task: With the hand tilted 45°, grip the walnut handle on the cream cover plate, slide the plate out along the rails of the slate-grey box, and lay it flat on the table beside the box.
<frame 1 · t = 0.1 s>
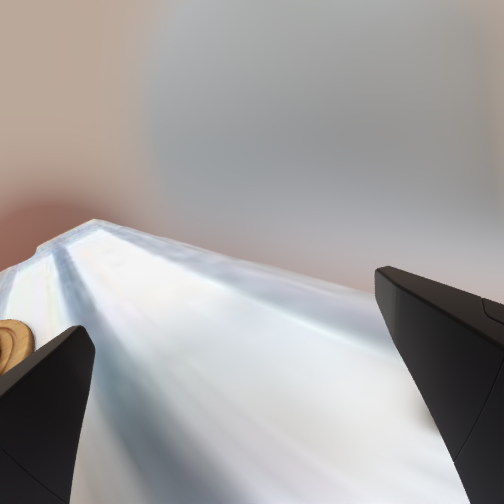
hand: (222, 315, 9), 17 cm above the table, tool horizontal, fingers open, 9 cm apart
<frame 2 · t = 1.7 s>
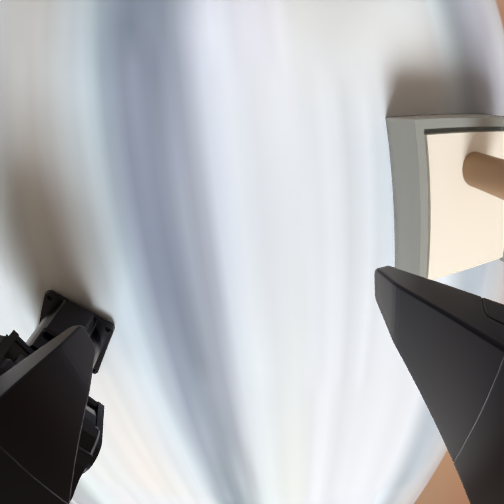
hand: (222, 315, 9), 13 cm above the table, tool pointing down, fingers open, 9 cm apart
box: (446, 189, 21), on the table
cover plate: (465, 200, 19), point 2 cm above the table, touching box
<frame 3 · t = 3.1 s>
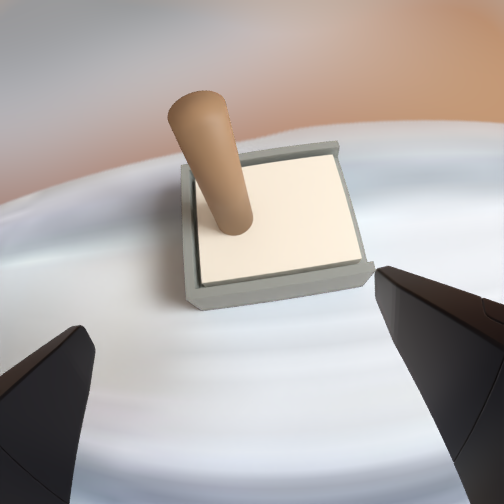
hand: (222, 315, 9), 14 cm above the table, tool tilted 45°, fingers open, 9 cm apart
box: (272, 234, 24), on the table
cover plate: (273, 219, 22), point 2 cm above the table, touching box
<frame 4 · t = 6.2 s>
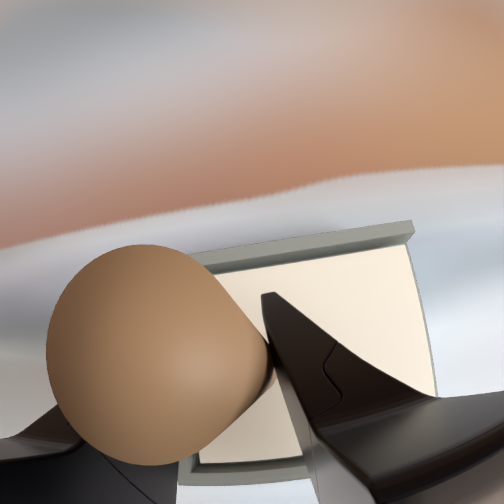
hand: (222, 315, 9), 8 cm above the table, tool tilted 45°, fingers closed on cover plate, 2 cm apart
box: (302, 360, 15), on the table
cover plate: (310, 358, 13), point 2 cm above the table, touching box, gripper
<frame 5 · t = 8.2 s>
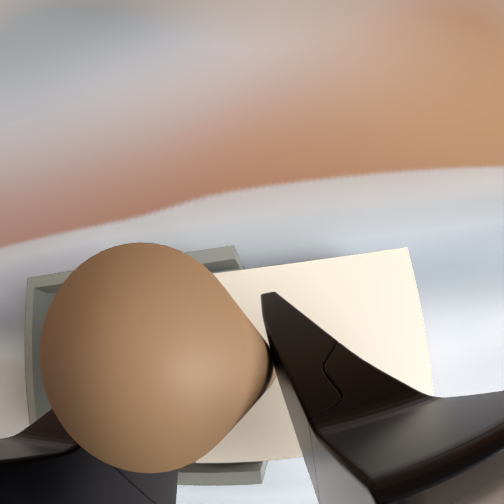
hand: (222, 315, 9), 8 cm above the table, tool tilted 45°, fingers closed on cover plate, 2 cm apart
box: (149, 374, 16), on the table
cover plate: (309, 359, 13), point 3 cm above the table, touching gripper
when the fingers open (6 cm above the table, at t = 10.2 s): cover plate drops 2 cm, on the table.
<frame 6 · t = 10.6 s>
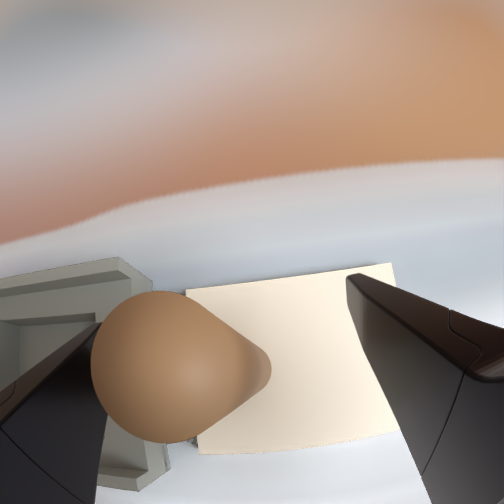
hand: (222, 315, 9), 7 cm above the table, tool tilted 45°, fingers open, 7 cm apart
box: (68, 376, 15), on the table
cover plate: (300, 363, 15), on the table
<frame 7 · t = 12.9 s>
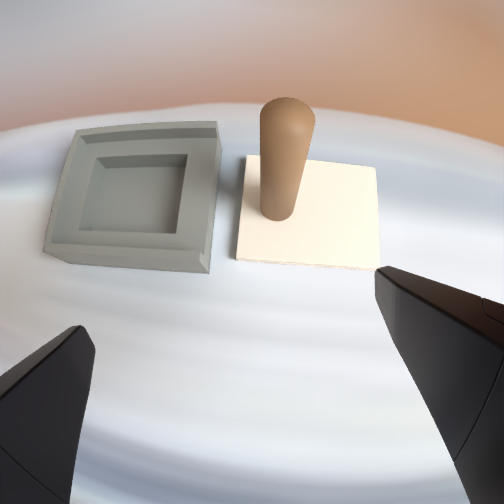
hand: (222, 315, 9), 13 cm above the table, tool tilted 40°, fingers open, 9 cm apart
box: (142, 204, 24), on the table
cover plate: (310, 213, 24), on the table
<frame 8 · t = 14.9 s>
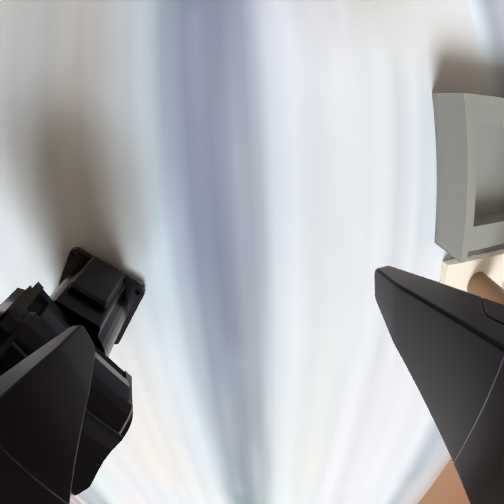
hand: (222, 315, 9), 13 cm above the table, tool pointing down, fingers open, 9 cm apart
box: (482, 167, 20), on the table
cover plate: (465, 301, 26), on the table
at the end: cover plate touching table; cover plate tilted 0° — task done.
